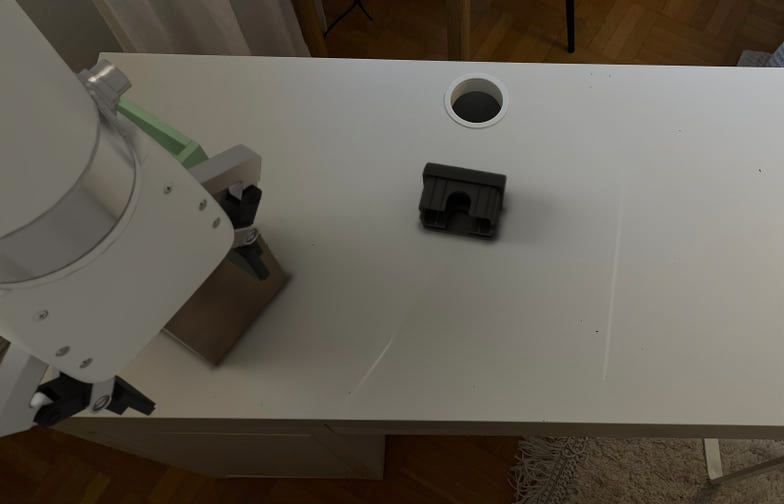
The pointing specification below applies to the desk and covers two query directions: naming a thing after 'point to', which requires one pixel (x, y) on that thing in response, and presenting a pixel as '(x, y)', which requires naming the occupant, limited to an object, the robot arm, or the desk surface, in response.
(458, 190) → the end cap
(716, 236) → the desk surface
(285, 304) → the desk surface
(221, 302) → the stand
